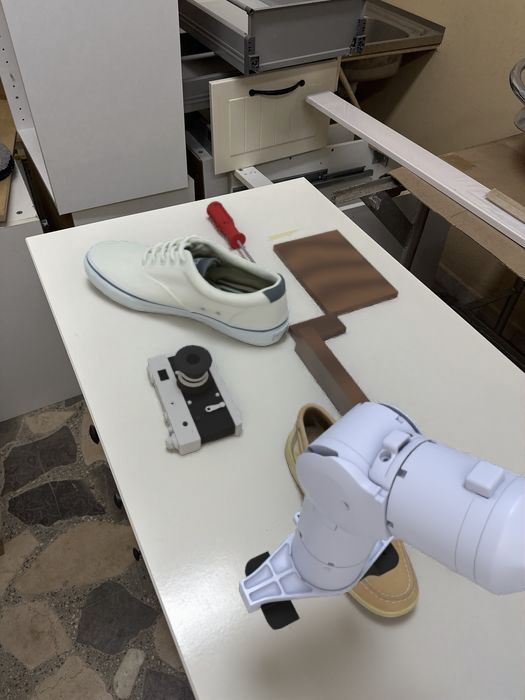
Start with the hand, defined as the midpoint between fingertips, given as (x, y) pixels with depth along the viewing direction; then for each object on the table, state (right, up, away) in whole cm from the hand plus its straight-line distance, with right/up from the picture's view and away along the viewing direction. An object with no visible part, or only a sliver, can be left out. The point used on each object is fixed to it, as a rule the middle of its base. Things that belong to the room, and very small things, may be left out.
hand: (311, 592), depth 48 cm
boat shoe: (+5, +2, +14) cm, 15 cm away
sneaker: (-17, +30, +38) cm, 51 cm away
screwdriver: (-9, +40, +49) cm, 64 cm away
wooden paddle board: (+13, +21, +33) cm, 41 cm away
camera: (-15, +15, +24) cm, 32 cm away
